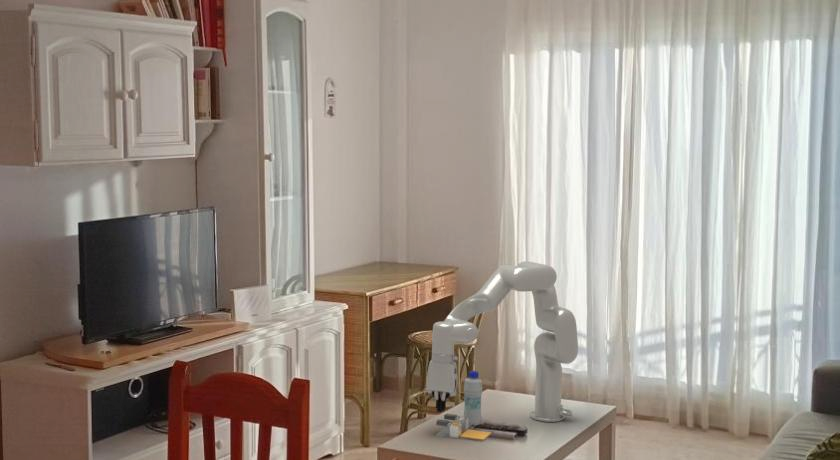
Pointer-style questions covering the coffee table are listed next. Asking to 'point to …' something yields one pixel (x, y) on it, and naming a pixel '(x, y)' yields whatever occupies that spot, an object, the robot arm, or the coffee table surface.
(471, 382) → the bottle
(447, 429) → the panel
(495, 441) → the coffee table surface
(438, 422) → the lever
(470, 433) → the pad
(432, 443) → the coffee table surface
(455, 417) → the lever
